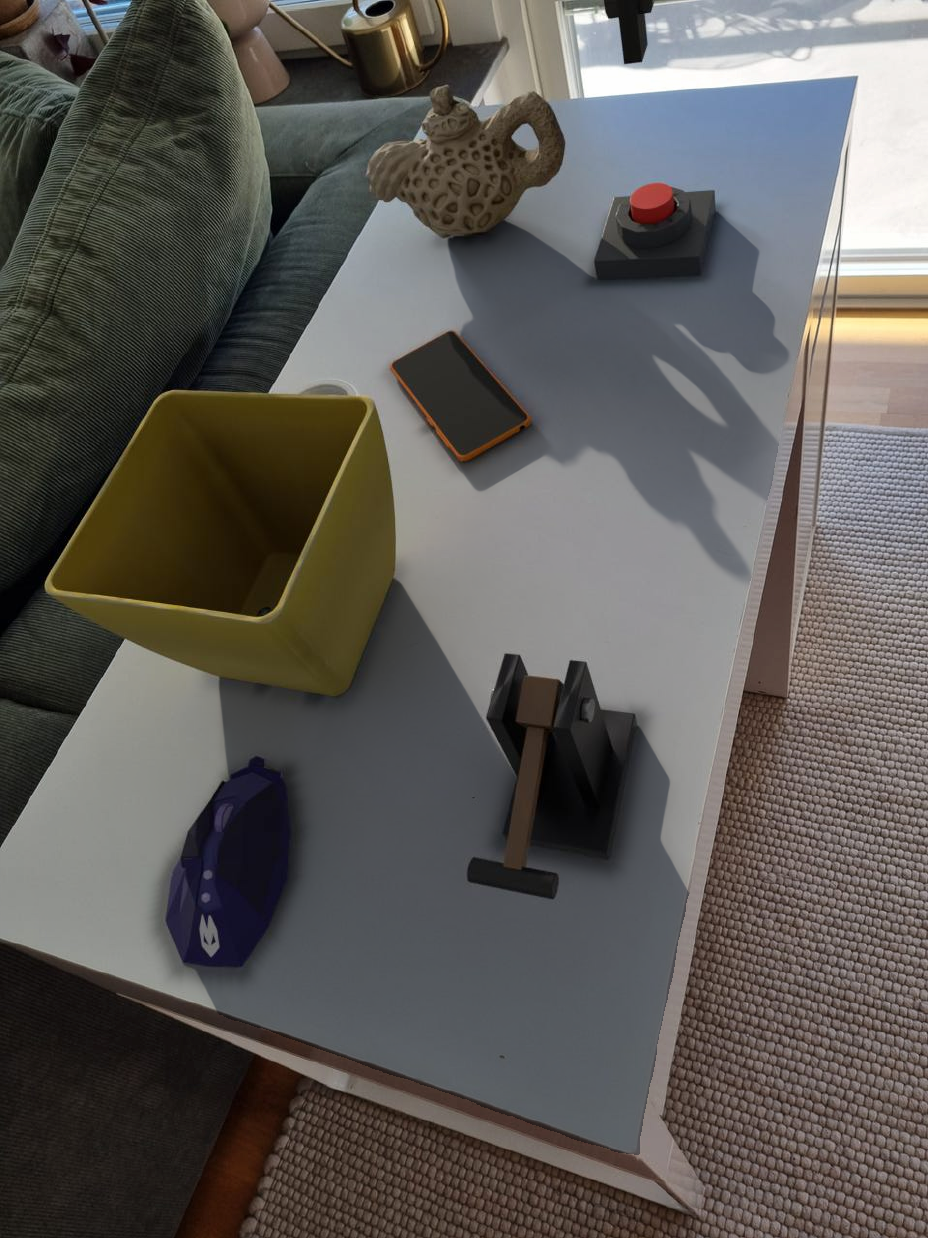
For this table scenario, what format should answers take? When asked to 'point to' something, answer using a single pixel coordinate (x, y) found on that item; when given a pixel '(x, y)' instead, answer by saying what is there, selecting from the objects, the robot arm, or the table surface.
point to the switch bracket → (568, 760)
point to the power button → (652, 203)
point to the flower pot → (242, 537)
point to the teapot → (468, 163)
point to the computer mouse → (231, 869)
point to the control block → (656, 239)
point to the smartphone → (459, 395)
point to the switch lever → (525, 797)
